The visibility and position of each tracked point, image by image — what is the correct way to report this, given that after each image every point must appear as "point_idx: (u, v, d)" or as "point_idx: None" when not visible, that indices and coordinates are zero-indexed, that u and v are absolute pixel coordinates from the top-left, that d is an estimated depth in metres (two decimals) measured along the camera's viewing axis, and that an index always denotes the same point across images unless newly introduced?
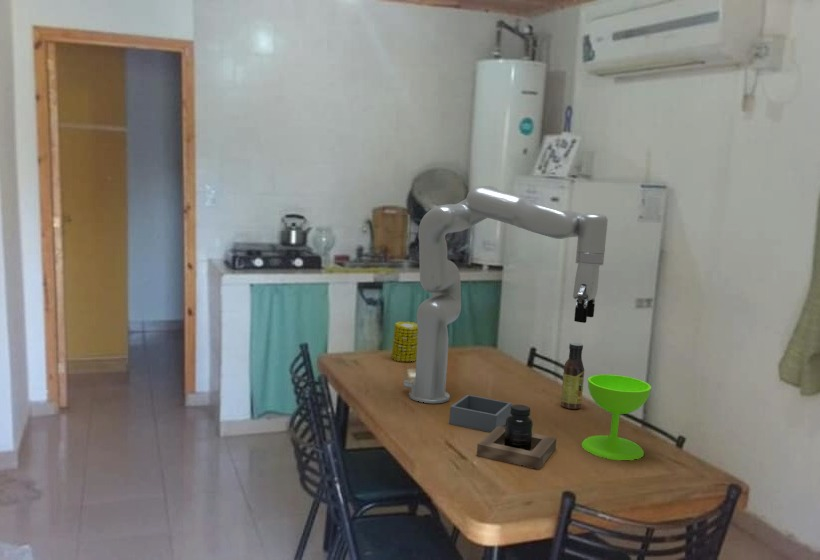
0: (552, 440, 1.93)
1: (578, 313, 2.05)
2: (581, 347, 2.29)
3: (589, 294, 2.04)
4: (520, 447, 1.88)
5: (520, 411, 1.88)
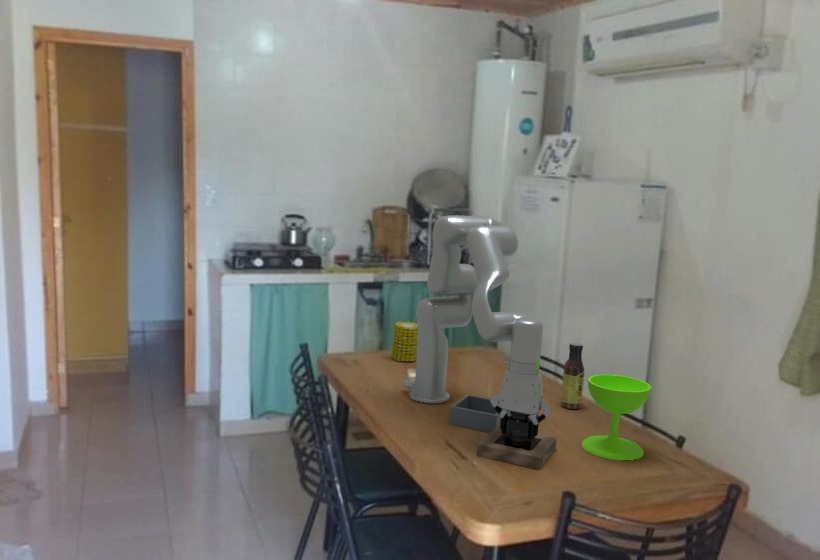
0: (552, 440, 1.93)
1: (536, 430, 1.88)
2: (581, 347, 2.29)
3: None
4: (520, 447, 1.88)
5: None
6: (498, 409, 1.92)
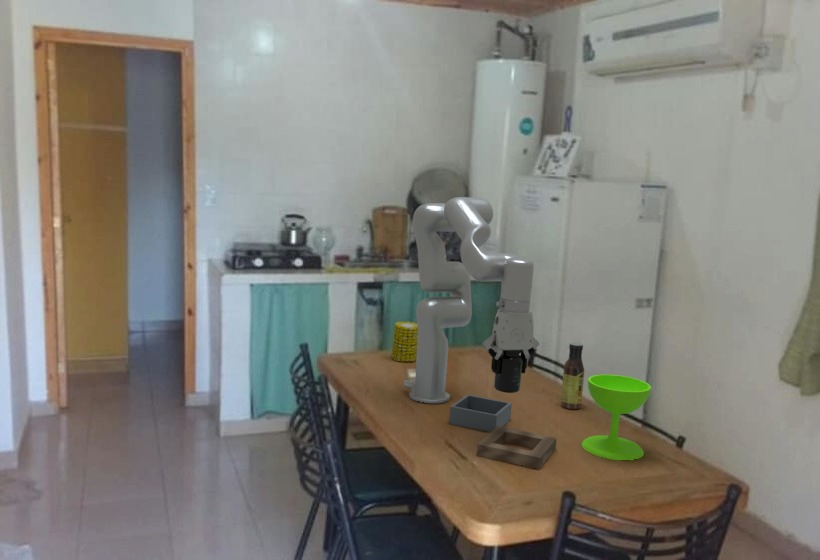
0: (552, 440, 1.93)
1: None
2: (581, 347, 2.29)
3: None
4: (518, 383, 1.95)
5: None
6: (493, 351, 1.93)
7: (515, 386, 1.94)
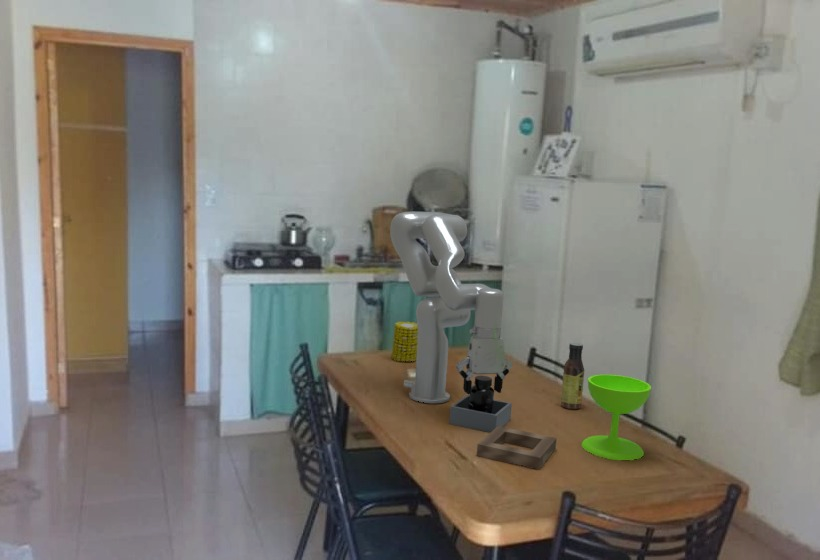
0: (552, 440, 1.93)
1: None
2: (581, 347, 2.29)
3: None
4: (490, 412, 2.11)
5: (489, 381, 2.10)
6: (464, 373, 2.08)
7: None
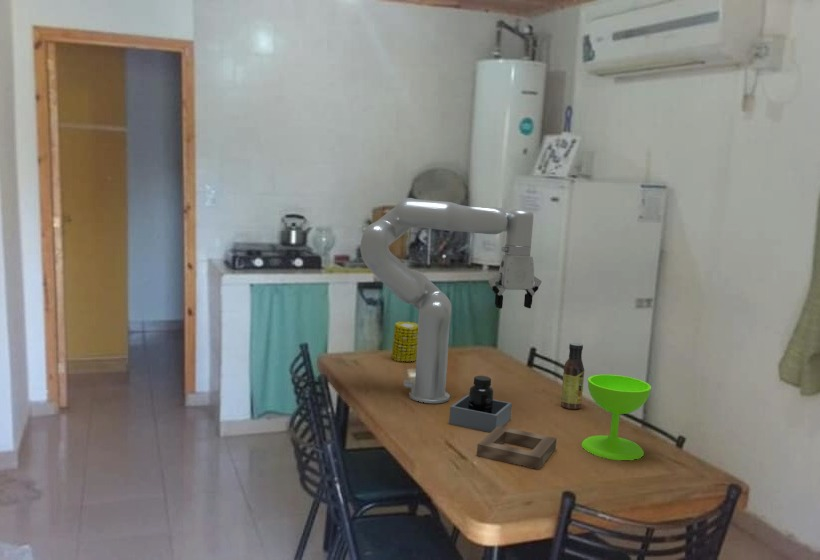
0: (552, 440, 1.93)
1: None
2: (581, 347, 2.29)
3: None
4: (490, 412, 2.11)
5: (488, 381, 2.10)
6: (496, 288, 2.23)
7: None
